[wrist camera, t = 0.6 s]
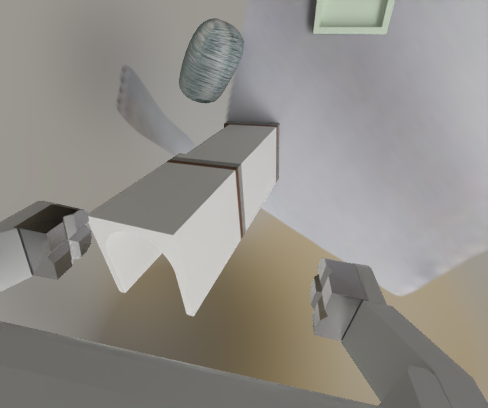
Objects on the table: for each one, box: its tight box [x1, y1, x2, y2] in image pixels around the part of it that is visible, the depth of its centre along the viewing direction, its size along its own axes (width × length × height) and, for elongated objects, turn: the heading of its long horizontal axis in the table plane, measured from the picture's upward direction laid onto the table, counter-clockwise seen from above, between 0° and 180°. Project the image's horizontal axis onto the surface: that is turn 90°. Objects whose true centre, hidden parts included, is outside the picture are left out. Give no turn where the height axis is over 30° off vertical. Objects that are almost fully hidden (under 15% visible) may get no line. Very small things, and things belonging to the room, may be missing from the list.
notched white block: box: [88, 121, 279, 316], centre depth 42 cm, size 11×11×35 cm
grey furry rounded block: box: [179, 19, 244, 103], centre depth 46 cm, size 14×10×10 cm
